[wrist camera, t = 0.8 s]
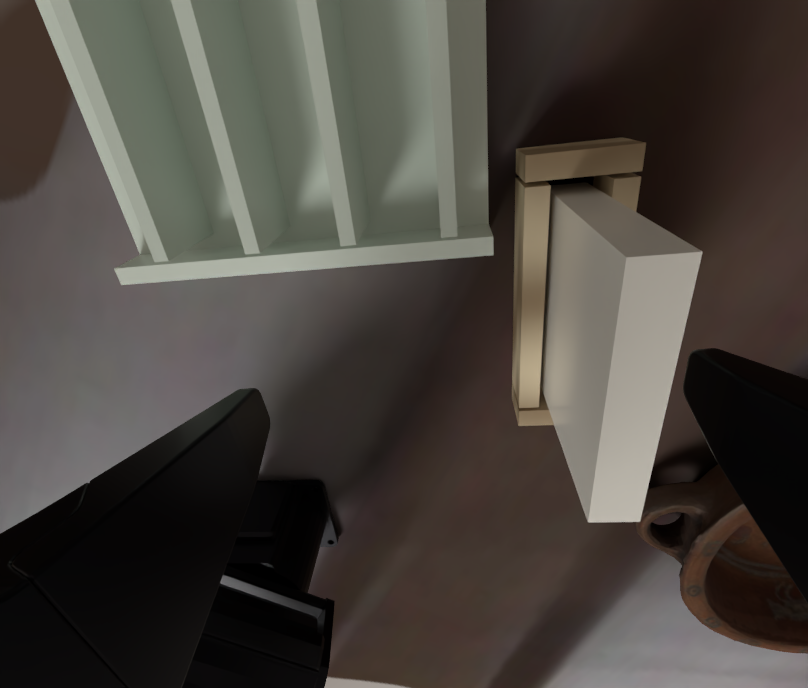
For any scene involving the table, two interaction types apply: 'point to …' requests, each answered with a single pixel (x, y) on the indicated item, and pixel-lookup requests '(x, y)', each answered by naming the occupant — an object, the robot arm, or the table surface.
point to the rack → (284, 129)
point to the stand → (532, 206)
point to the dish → (726, 564)
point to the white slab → (611, 342)
